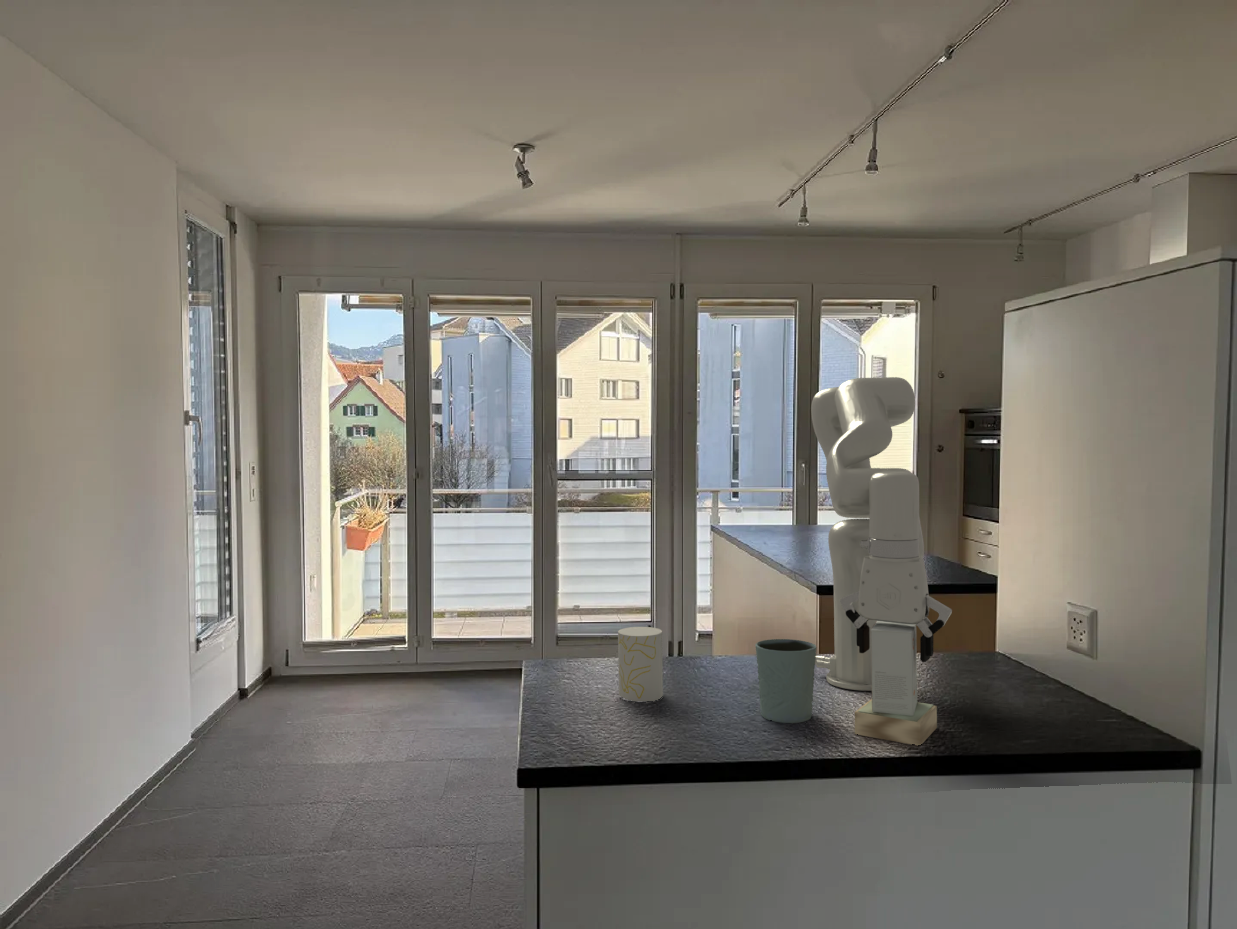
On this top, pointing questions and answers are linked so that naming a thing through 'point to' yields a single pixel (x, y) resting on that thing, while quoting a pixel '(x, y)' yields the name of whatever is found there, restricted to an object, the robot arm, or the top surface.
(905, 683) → the small box
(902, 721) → the plinth
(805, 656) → the green tumbler
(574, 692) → the top surface
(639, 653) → the cream patterned cylinder
